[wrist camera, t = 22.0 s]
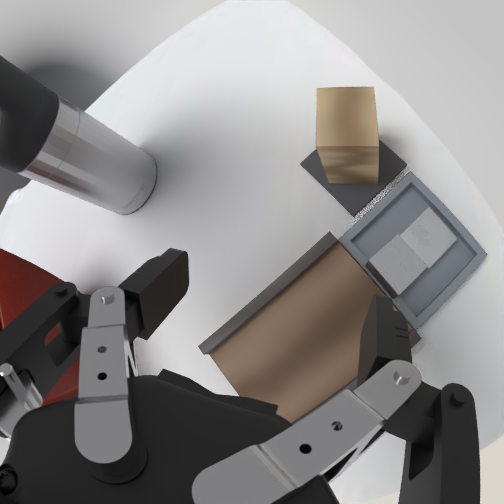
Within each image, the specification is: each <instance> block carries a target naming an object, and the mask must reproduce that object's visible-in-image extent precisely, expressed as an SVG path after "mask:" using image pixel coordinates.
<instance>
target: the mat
mask: <svg viewBox="0 0 504 504" xmlns="http://www.w3.org/2000/svg"><path fill="white" fill-rule="evenodd" d="M300 165H301V166H302V167H303V168H305V169H306V170H307V171H308V172H309V173H310V174H311V175H312V176H313V177H314V178H315V179H316V180H317V181H318V182H319V183H320V184H321V185H322V186H323V187H324V188H325V189H326V190H327V191H328V192H329V193H330V194H331V195H332V196H333V197H334V198H335V199H336V200H337V201H338V202H339V203H340V204H341V205H342V206H343V207H344V208H345V209H346V210H347V211H348V212H349V213H350V214H351V215H352V216H355V215H356V214H357V213H358V212H359V211H360V210H361V209H362V208H363V207H364V206H365V205H366V204H367V203H368V202H369V201H370V200H372V199H373V198H374V197H375V196H376V195H377V194H378V193H379V192H380V191H381V190H382V189H383V188H384V187H385V186H386V185H387V184H388V183H389V182H390V181H391V180H392V179H393V178H394V177H396V176H397V175H398V174H399V173H400V172H401V171H402V170H403V169H404V168H405V167H406V166H407V164H406V163H405V162H404V161H403V160H402V159H401V158H399V157H398V156H397V155H396V154H395V153H394V152H393V151H392V150H390V149H389V148H388V147H387V146H386V145H385V144H384V143H382V142H381V141H380V140H379V171H378V184H336V183H329V182H328V179H327V176H326V173H325V170H324V167H323V165H322V162H321V159H320V157H319V154H318V151H317V149H316V150H315V151H314V152H312V153H311V154H310V155H309V156H308V157H307V158H306V159H305V160H304V161H302V162H301V163H300Z"/></svg>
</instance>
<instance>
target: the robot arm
mask: <svg viewBox="0 0 504 504" xmlns="http://www.w3.org/2000/svg"><path fill="white" fill-rule="evenodd" d="M0 110H1V111H2V119H1V124H0V166H2V167H3V168H5V169H8V170H10V171H13V172H15V173H18V174H20V175H23V176H25V177H28V178H30V179H33V180H35V181H38V182H40V183H43V184H45V185H48V186H50V187H53V188H55V189H58V190H60V191H63V192H65V193H68V194H70V195H73V196H75V197H78V198H80V199H83V200H85V201H88V202H90V203H93V204H95V205H98V206H100V207H103V208H105V209H108V210H110V211H113V212H115V213H118V214H122V215H124V214H129V213H132V212H134V211H136V210H137V209H139V208H140V207H141V206H142V205H143V204H144V203H145V201H146V200H147V199H148V197H149V196H150V194H151V192H152V190H153V187H154V185H155V181H156V174H157V170H156V164H155V161H154V159H153V158H152V157H151V156H150V155H148V154H147V153H146V152H144V151H143V150H141V149H140V148H138V147H137V146H135V145H134V144H132V143H131V142H129V141H128V140H126V139H125V138H123V137H122V136H120V135H119V134H117V133H116V132H114V131H113V130H111V129H110V128H108V127H107V126H105V125H104V124H102V123H101V122H99V121H98V120H96V119H95V118H93V117H91V116H90V115H88V114H87V113H85V112H84V111H82V110H81V109H79V108H77V107H76V106H74V105H73V104H71V103H70V102H68V101H66V100H65V99H63V98H62V97H60V96H59V95H57V94H55V93H54V92H52V91H51V90H49V89H48V88H46V87H45V86H43V85H42V84H41V83H39V82H38V81H37V80H35V79H34V78H32V77H31V76H30V75H28V74H26V73H25V72H23V71H22V70H20V69H19V68H17V67H16V66H14V65H13V64H12V63H10V62H8V61H7V60H6V59H4V58H3V57H2V56H0ZM188 286H189V266H188V254H187V252H186V251H181V250H177V249H173V248H170V249H168V250H167V251H166V252H165V253H164V254H162V255H161V256H160V257H159V256H157V257H155V258H152V259H150V260H148V261H147V262H146V263H144V264H143V265H142V266H141V268H138V269H137V270H136V271H135V272H134V273H133V274H131V275H130V276H129V277H128V278H127V279H126V280H125V281H123V282H122V283H121V284H120V285H119V286H118V287H114V286H107V287H103V288H100V289H98V290H96V291H95V292H94V293H93V294H92V295H82V294H78V292H77V288H76V286H75V284H73V283H70V282H61V283H58V284H55V285H53V286H52V287H51V288H49V289H48V290H47V291H46V292H45V293H43V294H42V295H41V296H40V297H39V298H38V299H36V300H35V301H34V302H33V303H32V304H31V305H30V306H28V307H27V308H26V309H25V310H24V311H23V312H22V313H21V314H19V315H18V316H17V317H16V318H15V319H14V320H13V321H12V322H11V323H10V324H8V325H7V326H6V327H5V328H4V329H3V330H2V331H1V332H0V436H1V437H4V438H10V439H11V441H10V445H9V449H8V452H7V455H6V457H5V459H4V461H3V463H2V465H1V466H0V504H339V502H338V500H337V498H336V496H335V495H334V493H333V491H332V489H331V487H330V486H329V483H331V482H332V481H333V480H334V479H336V478H337V477H338V476H339V475H340V474H342V473H343V472H344V471H345V470H346V469H347V468H348V467H349V466H350V465H351V464H352V463H353V462H354V461H355V460H356V459H358V458H359V457H360V456H361V455H362V454H363V453H364V452H365V451H367V450H368V449H369V448H370V447H371V446H372V445H373V444H374V443H375V442H376V441H377V440H378V439H379V438H380V437H382V436H383V435H384V434H385V433H386V432H388V433H390V434H392V435H395V436H397V437H399V438H402V439H404V440H406V448H405V458H404V467H403V475H402V483H401V490H400V497H399V502H398V504H480V457H479V440H478V429H477V419H476V411H475V403H474V398H473V396H472V394H471V392H470V391H469V390H468V389H467V388H466V387H464V386H462V385H460V384H456V383H451V384H447V385H446V386H444V388H443V389H442V390H439V389H437V388H435V387H432V386H430V385H428V384H426V383H424V382H423V381H422V380H421V374H420V372H419V370H418V369H417V368H416V367H415V366H414V365H413V364H412V355H411V347H410V339H409V332H408V324H407V320H406V318H405V317H404V315H403V314H402V312H399V311H394V309H393V300H392V297H388V296H383V295H378V294H374V295H373V298H372V301H371V304H370V306H369V309H368V312H367V315H366V318H365V321H364V324H363V327H362V331H361V336H360V351H359V366H358V378H357V389H356V390H354V391H352V390H351V389H346V390H344V391H343V392H341V393H340V394H339V395H337V396H336V397H334V398H333V399H332V400H330V401H329V402H327V403H326V404H325V405H323V406H322V407H320V408H319V409H317V410H316V411H314V412H313V413H311V414H310V415H308V416H307V417H305V418H304V419H302V420H301V421H299V422H298V423H296V424H294V425H293V424H291V423H290V422H289V421H288V420H286V419H285V418H283V417H281V416H280V415H278V414H276V413H277V409H278V405H276V404H272V403H268V402H264V401H260V400H257V399H253V398H250V397H241V396H230V395H220V394H215V393H212V392H211V391H209V390H207V389H206V388H204V387H203V386H201V385H199V384H198V383H196V382H195V381H193V380H191V379H190V378H187V377H185V376H182V375H179V374H176V373H174V372H171V371H168V370H166V369H163V370H162V371H161V372H160V374H159V375H158V376H155V375H142V376H138V369H137V361H136V352H135V344H134V339H135V338H136V337H140V338H142V339H145V340H148V338H149V337H150V336H151V335H152V334H153V332H154V331H155V330H156V329H157V328H158V326H159V325H160V324H161V323H162V322H163V320H164V319H165V318H166V317H167V316H168V315H169V313H170V312H171V311H172V310H173V309H174V307H175V306H176V305H177V304H178V303H179V301H180V300H181V299H182V298H183V297H184V296H185V294H186V292H187V290H188ZM56 325H58V328H59V331H60V332H59V333H58V334H57V335H56V336H55V337H54V338H53V340H52V341H51V342H50V343H49V344H48V345H47V346H46V345H45V338H46V335H47V334H48V333H49V332H50V331H51V330H52V329H53V328H54V327H55V326H56ZM79 356H80V367H79V394H78V395H77V396H74V397H71V398H67V399H64V400H61V401H58V402H54V403H51V404H48V405H44V406H42V403H43V399H44V398H45V397H46V395H47V394H48V393H49V392H50V390H51V389H52V388H53V387H54V386H55V384H56V383H57V382H58V381H59V379H60V378H61V377H62V376H63V375H64V373H65V372H66V371H67V370H68V369H69V367H70V366H71V365H72V364H73V363H74V362H75V360H76V359H77V358H78V357H79Z"/></svg>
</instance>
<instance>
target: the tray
mask: <svg viewBox="0 0 504 504" xmlns="http://www.w3.org/2000/svg"><path fill="white" fill-rule="evenodd" d="M428 207H429V208H430V209H431V210H432V211H433V212H434V213H435V214H436V215H437V216H438V217H439V218H440V220H441V221H442V222H443V223H444V224H445V225H446V226H447V227H448V228H449V230H450V231H451V232H452V233H453V234H454V235H455V236H456V238H457V239H456V241H455V242H454V243H453V244H452V245H451V246H450V247H449V248H448V249H447V250H446V251H445V252H444V253H443V254H442V256H441V257H440V258H439V259H438V260H437V261H436V262H435V263H434V264H433V265H432V266H431V267H430V268H429V269H427V270H424V271H423V272H422V273H421V274H420V275H419V276H418V277H417V278H416V279H415V280H414V281H413V282H412V283H411V284H410V285H409V286H408V287H407V288H406V289H405V290H404V291H403V292H402V293H401V294H400V295H398V296H397V297H396V298H395V299H392V300H393V305H394V306H395V308H396V309H397V310H398V311H399V312H402V314H403V315H404V317H405V318H406V320H407V322H408V324H409V325H410V326H411V327H412V329H414V330H416V329H417V328H418V327H420V326H421V325H422V324H423V323H424V322H425V321H426V320H427V319H428V318H429V317H430V316H431V315H432V314H433V313H434V312H435V311H436V310H437V309H438V308H439V307H440V306H441V305H442V304H443V303H444V302H445V301H446V300H447V299H448V298H449V297H450V296H451V295H452V294H453V293H454V292H455V291H456V290H457V288H458V287H459V286H460V285H461V284H462V283H463V282H464V281H465V280H466V279H467V278H468V276H469V275H470V274H471V273H472V272H473V271H474V270H475V268H476V267H477V266H478V265H479V264H480V263H481V262H482V260H483V259H484V258H485V257H486V256H487V253H486V252H485V251H484V249H483V248H482V247H481V246H480V245H479V243H478V242H477V241H476V240H475V239H474V237H473V236H472V235H471V234H470V233H469V232H468V230H467V229H466V228H465V227H464V226H463V225H462V224H461V222H460V221H459V220H458V219H457V218H456V217H455V216H454V215H453V214H452V213H451V211H450V210H449V209H448V208H447V207H446V206H445V205H444V204H443V203H442V202H441V201H440V200H439V199H438V198H437V197H436V196H435V195H434V194H433V193H432V192H431V191H430V190H429V189H428V188H427V187H426V186H425V185H424V184H423V183H422V182H421V181H420V180H419V179H418V178H417V177H416V176H415V175H414V174H413V173H412V172H411V171H410V172H409V173H408V174H407V175H406V176H405V177H404V178H403V179H402V180H401V181H400V182H399V183H398V184H397V185H396V186H395V187H394V188H393V189H392V190H390V191H389V192H388V193H387V194H386V195H385V196H384V197H383V198H382V199H381V200H380V201H379V202H378V203H377V204H376V205H375V206H374V207H373V208H372V209H371V210H370V211H369V212H368V213H366V214H365V215H364V216H363V217H362V218H361V219H360V220H359V221H358V222H357V223H356V224H355V225H354V226H353V227H352V228H350V229H349V230H348V231H347V232H346V233H345V234H344V235H343V236H342V237H341V238H340V239H339V240H338V241H339V243H340V244H341V245H342V247H343V248H344V249H345V250H346V251H347V252H348V253H349V254H350V255H351V257H352V258H353V259H354V260H355V261H356V262H357V263H358V264H359V266H360V267H361V268H362V269H363V270H364V271H365V272H366V274H367V275H368V276H369V277H370V278H371V279H372V281H373V282H374V283H375V284H376V285H377V286H378V287H379V289H380V290H381V291H382V292H383V293H384V295H385V296H388V297H391V296H390V295H389V294H388V293H387V291H386V290H385V289H384V288H383V287H382V285H381V284H380V283H379V282H378V281H377V280H376V278H375V277H374V276H373V275H372V274H371V273H370V271H369V270H368V269H367V268H366V267H365V265H366V263H367V262H368V260H369V259H370V258H372V257H373V256H374V255H375V254H376V253H377V252H379V251H380V250H381V249H382V248H383V247H384V246H385V245H386V244H388V243H389V242H390V241H391V240H392V239H393V238H394V237H395V236H397V235H398V234H399V235H401V234H402V233H403V232H404V231H405V230H406V229H407V228H408V227H409V226H410V225H411V224H412V223H413V222H414V221H415V220H416V219H417V218H418V217H419V216H420V215H421V214H422V213H423V212H424V211H425V210H426V209H427V208H428Z"/></svg>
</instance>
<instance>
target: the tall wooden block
mask: <svg viewBox="0 0 504 504" xmlns="http://www.w3.org/2000/svg"><path fill="white" fill-rule="evenodd" d="M316 149H317V151H318V154H319V157H320V159H321V162H322V165H323V167H324V170H325V173H326V176H327V179H328V182H329V183H336V184H378V171H379V139H378V125H377V113H376V103H375V93H374V87H331V88H317V115H316Z"/></svg>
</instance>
